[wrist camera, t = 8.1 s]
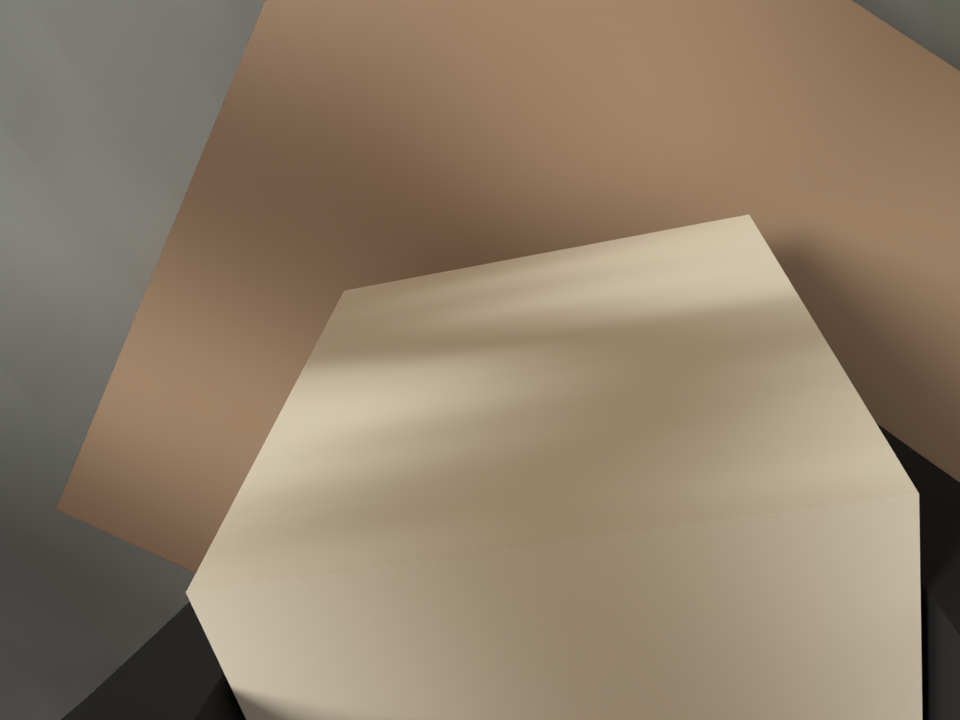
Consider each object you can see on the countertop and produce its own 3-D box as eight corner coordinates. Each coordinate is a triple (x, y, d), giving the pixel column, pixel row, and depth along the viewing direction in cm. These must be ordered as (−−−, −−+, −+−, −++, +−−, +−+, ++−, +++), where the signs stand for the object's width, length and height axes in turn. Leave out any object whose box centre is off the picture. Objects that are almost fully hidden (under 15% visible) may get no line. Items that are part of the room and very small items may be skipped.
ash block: (439, 592, 12) (375, 991, 8) (343, 290, 10) (185, 592, 6) (781, 549, 11) (926, 961, 7) (749, 214, 10) (919, 494, 5)
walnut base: (667, 680, 17) (685, 796, 15) (126, 420, 15) (55, 508, 13) (1126, 197, 13) (1250, 262, 10) (424, -263, 11) (390, -304, 8)
